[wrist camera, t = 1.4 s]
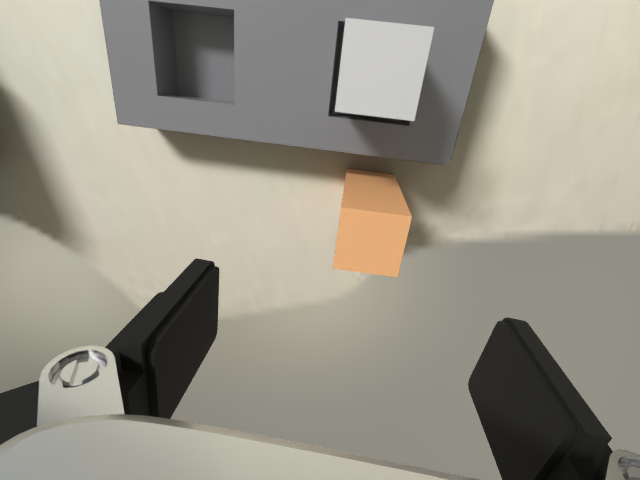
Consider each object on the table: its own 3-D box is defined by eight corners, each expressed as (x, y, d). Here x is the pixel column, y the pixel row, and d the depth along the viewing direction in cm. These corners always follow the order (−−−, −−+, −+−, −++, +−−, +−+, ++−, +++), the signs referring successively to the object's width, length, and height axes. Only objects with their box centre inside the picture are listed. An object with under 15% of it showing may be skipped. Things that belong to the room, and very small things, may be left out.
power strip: (474, 5, 22) (553, -50, 13) (436, 155, 27) (477, 189, 18) (132, -29, 24) (-8, -102, 15) (149, 119, 28) (48, 134, 19)
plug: (394, 174, 28) (411, 216, 19) (385, 218, 29) (397, 277, 20) (346, 168, 28) (341, 207, 19) (340, 212, 30) (332, 268, 20)
